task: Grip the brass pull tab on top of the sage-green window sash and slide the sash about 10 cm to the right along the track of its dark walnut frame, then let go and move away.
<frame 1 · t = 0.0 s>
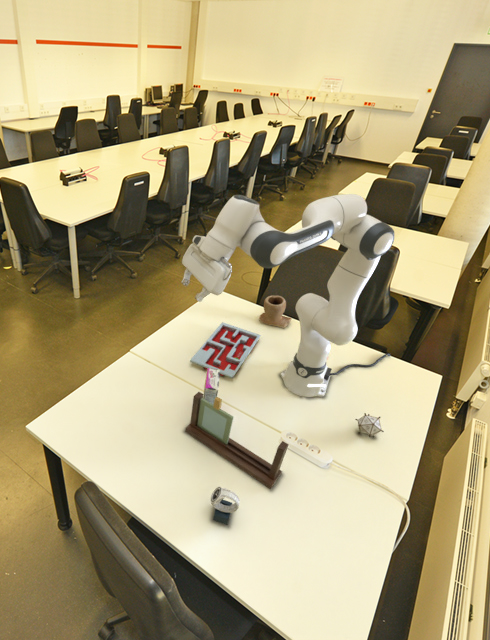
hand: (190, 292, 114), 54 cm above the table, tool tilted 30°, fingers open, 8 cm apart
candy bar box: (207, 410, 150), on the table
maze game: (226, 352, 179), on the table
watch: (221, 514, 116), on the table
stone cup: (273, 323, 199), on the table
window pane: (215, 418, 132), point 11 cm above the table, slide at 0.0 cm
window frame: (230, 452, 134), on the table
game die: (365, 432, 143), on the table
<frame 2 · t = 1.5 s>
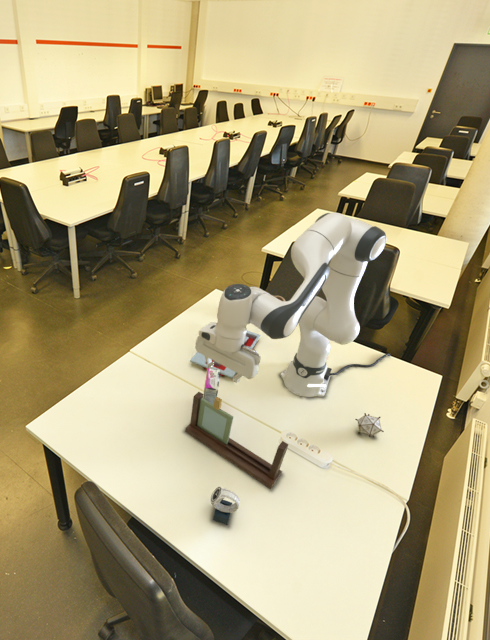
hand: (222, 374, 120), 31 cm above the table, tool pointing down, fingers open, 8 cm apart
nothing on the table moved.
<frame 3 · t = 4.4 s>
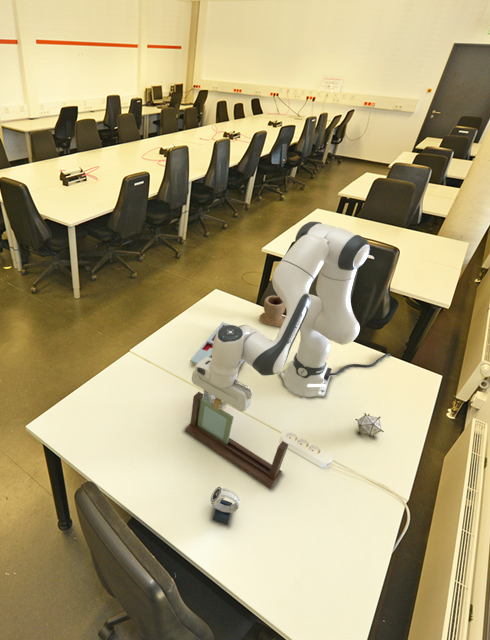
hand: (217, 404, 128), 18 cm above the table, tool pointing down, fingers closed on window pane, 2 cm apart
window pane: (215, 418, 132), point 11 cm above the table, slide at 0.0 cm, touching gripper
everything else where it was.
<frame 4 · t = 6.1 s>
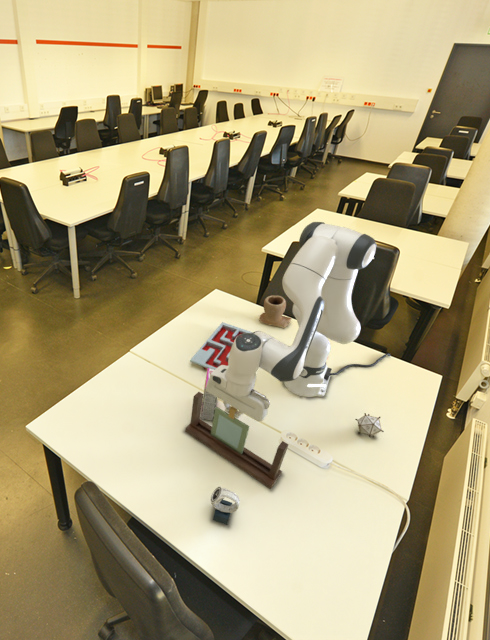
hand: (232, 413, 125), 18 cm above the table, tool pointing down, fingers closed on window pane, 2 cm apart
window pane: (229, 427, 129), point 11 cm above the table, slide at 5.8 cm, touching gripper
everything else where it was.
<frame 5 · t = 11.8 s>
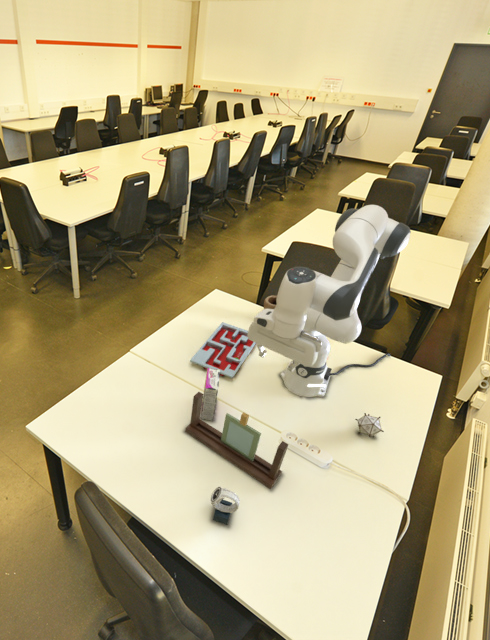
hand: (276, 362, 116), 37 cm above the table, tool pointing down, fingers open, 8 cm apart
window pane: (240, 433, 127), point 11 cm above the table, slide at 10.0 cm
everything else where it was.
at the end: window pane slide at 10.0 cm; candy bar box moved 0.2 cm from its start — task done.
